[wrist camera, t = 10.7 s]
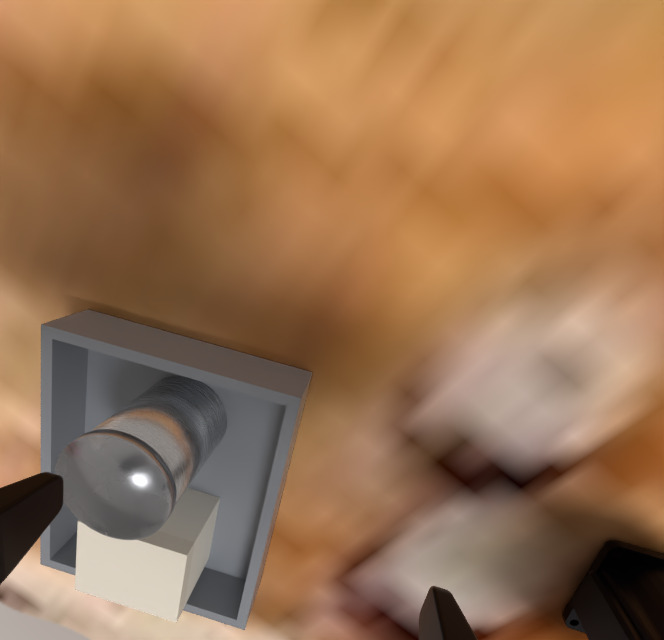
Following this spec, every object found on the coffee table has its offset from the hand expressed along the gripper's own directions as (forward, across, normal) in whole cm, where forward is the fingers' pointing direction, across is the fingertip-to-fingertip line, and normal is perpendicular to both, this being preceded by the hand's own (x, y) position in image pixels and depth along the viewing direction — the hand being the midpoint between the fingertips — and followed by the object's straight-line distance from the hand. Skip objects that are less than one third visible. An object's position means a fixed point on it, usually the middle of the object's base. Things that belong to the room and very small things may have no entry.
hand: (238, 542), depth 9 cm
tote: (+12, +7, +9) cm, 16 cm away
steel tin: (+11, +7, +5) cm, 14 cm away
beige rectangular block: (+11, +7, +13) cm, 18 cm away
